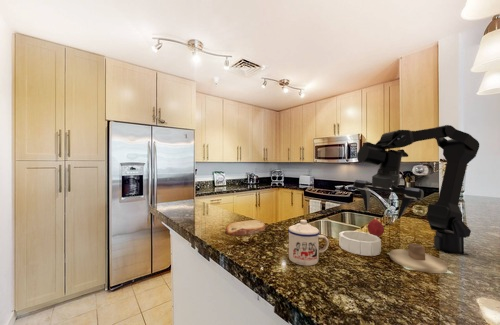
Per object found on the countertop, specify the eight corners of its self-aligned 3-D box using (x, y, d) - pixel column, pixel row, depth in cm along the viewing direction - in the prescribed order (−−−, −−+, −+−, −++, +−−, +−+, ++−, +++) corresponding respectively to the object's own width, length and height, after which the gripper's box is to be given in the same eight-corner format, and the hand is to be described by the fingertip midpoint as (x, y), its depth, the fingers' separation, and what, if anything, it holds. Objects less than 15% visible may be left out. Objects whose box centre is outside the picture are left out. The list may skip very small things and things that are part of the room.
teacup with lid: (290, 266, 57) (290, 223, 57) (285, 252, 66) (286, 216, 66) (334, 267, 56) (334, 225, 57) (323, 254, 66) (323, 217, 66)
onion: (387, 240, 80) (387, 219, 80) (372, 240, 80) (372, 219, 80) (378, 235, 85) (378, 216, 86) (364, 235, 86) (364, 216, 86)
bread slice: (264, 224, 101) (264, 217, 101) (269, 236, 83) (269, 227, 83) (227, 224, 100) (227, 217, 100) (224, 236, 82) (224, 227, 82)
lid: (427, 255, 65) (426, 239, 65) (461, 275, 52) (461, 256, 52) (382, 251, 67) (381, 236, 67) (404, 270, 54) (404, 252, 55)
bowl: (371, 244, 75) (371, 232, 75) (387, 258, 63) (387, 243, 63) (336, 241, 77) (336, 229, 77) (345, 255, 65) (345, 240, 65)
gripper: (351, 161, 69) (343, 206, 69) (422, 167, 56) (413, 224, 55) (362, 166, 77) (355, 207, 76) (427, 173, 63) (419, 223, 63)
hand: (382, 214), depth 67 cm, fingers open, 9 cm apart
